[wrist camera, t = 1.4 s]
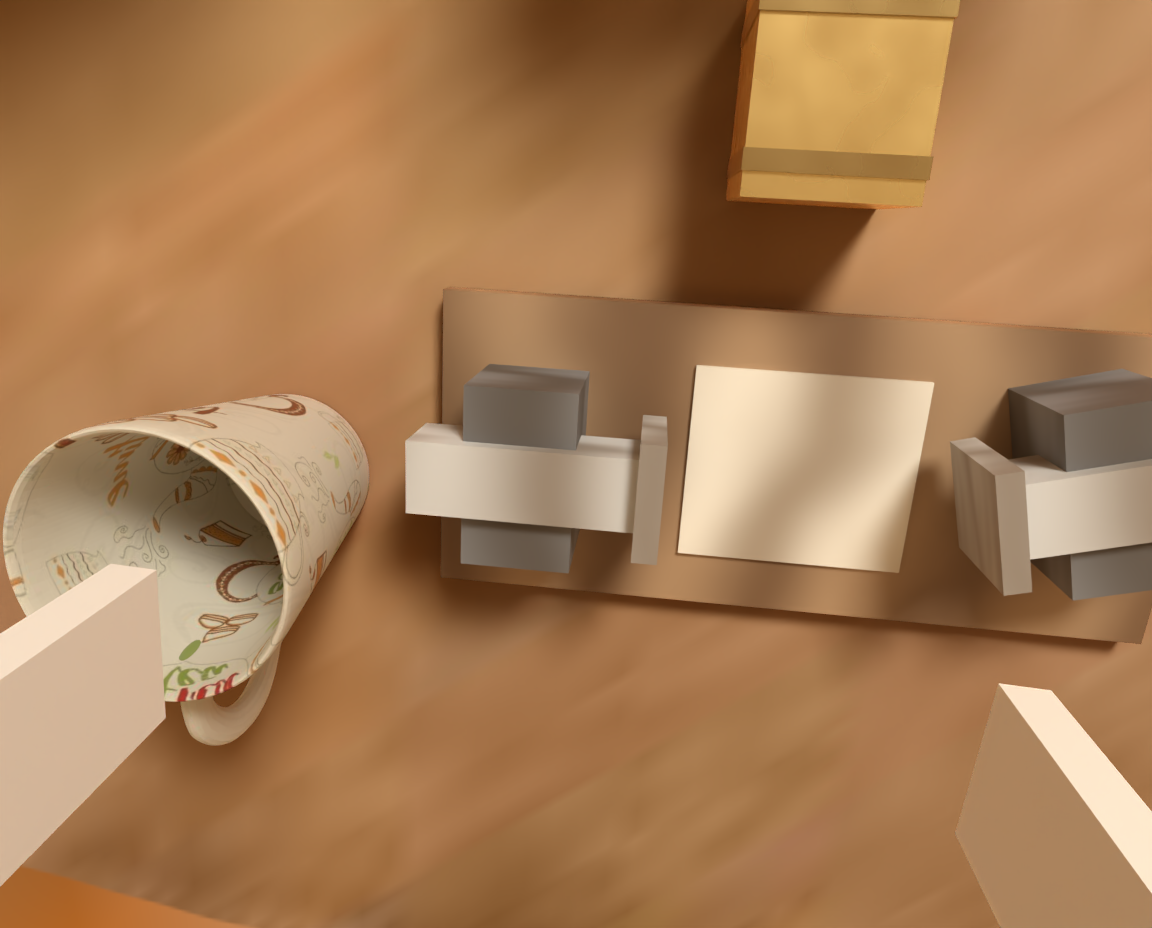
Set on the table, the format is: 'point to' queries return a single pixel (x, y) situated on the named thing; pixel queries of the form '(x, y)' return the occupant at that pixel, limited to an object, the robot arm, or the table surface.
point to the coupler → (838, 101)
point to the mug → (197, 533)
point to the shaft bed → (795, 461)
